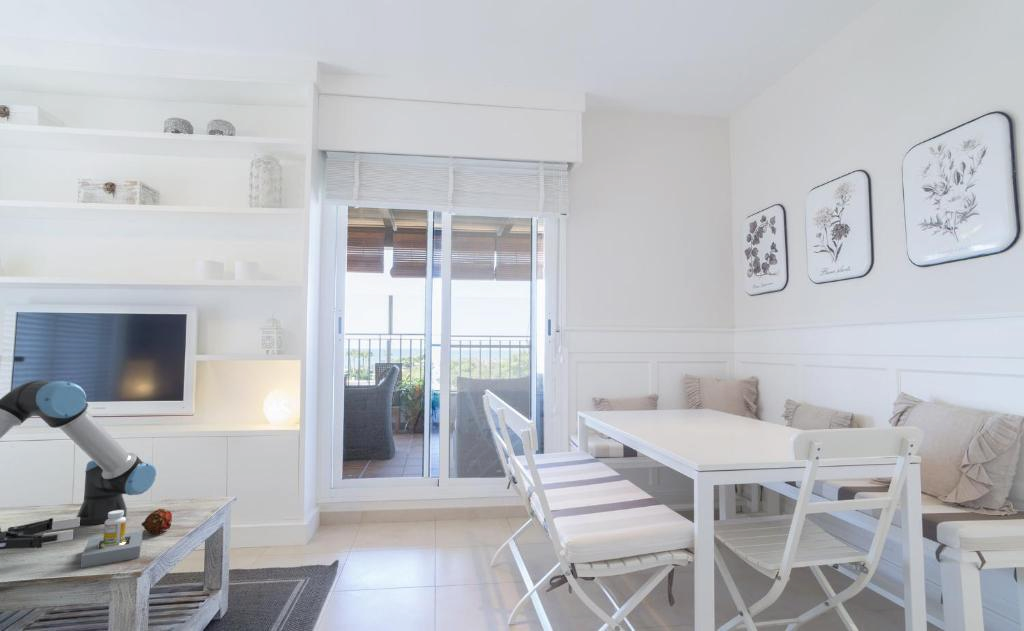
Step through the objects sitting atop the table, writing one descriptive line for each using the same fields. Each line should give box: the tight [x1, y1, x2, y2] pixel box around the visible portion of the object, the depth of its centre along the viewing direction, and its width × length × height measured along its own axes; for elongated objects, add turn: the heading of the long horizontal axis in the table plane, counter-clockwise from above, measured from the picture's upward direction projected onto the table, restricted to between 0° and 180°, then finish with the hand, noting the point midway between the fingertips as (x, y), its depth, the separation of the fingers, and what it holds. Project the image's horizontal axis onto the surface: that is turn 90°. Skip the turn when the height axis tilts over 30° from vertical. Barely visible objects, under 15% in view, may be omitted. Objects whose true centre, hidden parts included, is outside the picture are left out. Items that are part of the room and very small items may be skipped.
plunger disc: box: [101, 540, 127, 548], centre depth 159 cm, size 6×6×2 cm
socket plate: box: [80, 530, 144, 569], centre depth 159 cm, size 16×14×4 cm
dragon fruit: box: [141, 508, 173, 534], centre depth 180 cm, size 8×8×12 cm
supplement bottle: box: [103, 510, 127, 546], centre depth 160 cm, size 5×5×10 cm
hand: (76, 527), depth 154 cm, fingers open, 13 cm apart
